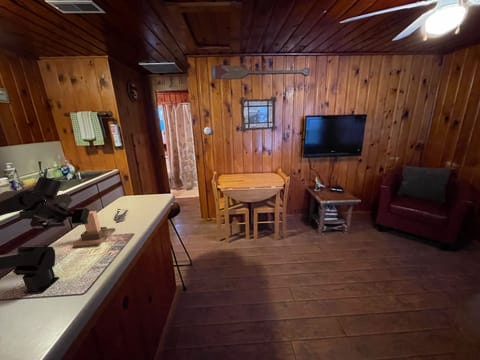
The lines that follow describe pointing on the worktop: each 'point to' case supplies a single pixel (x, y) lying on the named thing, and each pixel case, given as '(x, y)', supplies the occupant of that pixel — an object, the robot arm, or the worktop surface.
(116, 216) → the driftwood
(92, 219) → the clay rectangular block
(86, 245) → the square socket base
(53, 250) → the robot arm
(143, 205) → the worktop surface
